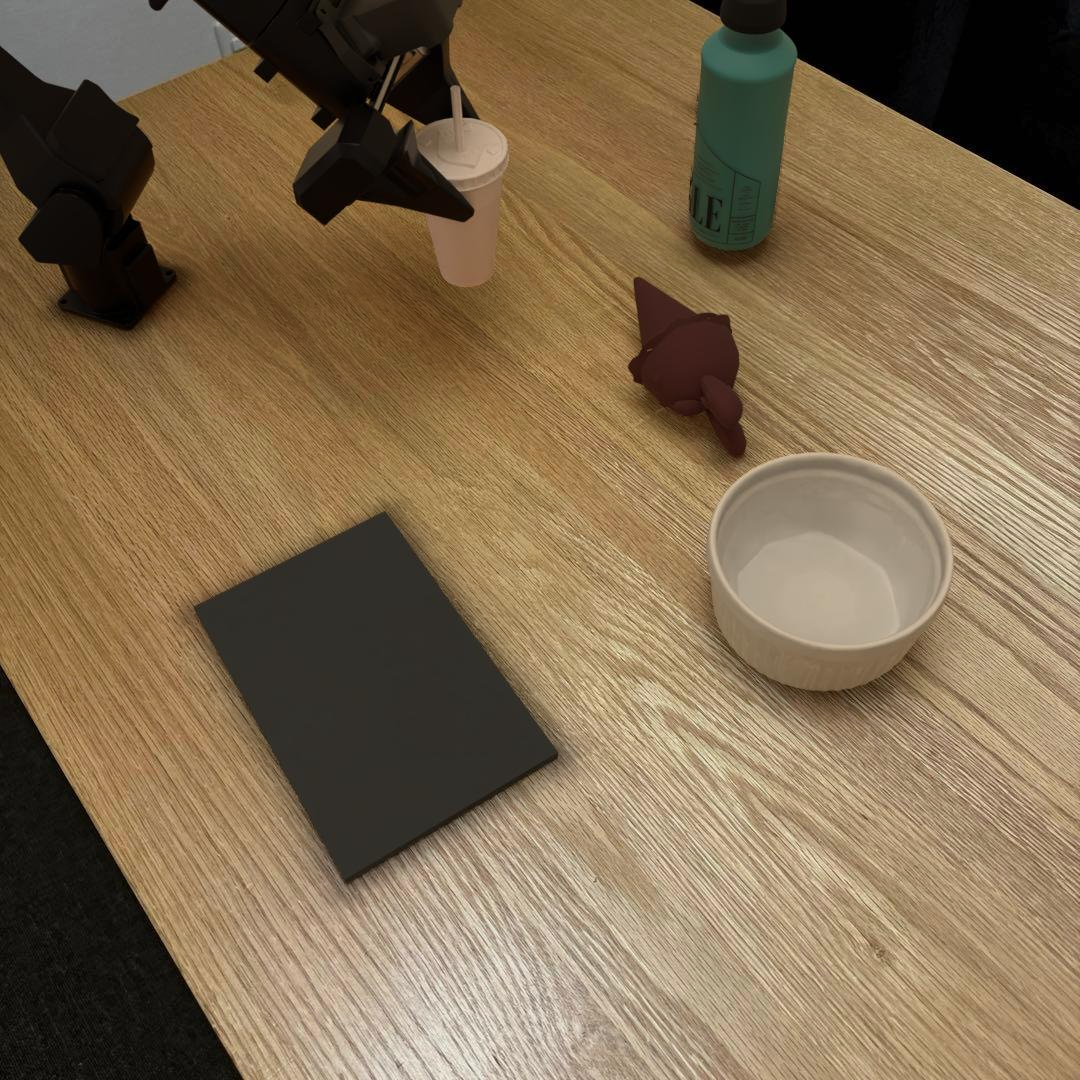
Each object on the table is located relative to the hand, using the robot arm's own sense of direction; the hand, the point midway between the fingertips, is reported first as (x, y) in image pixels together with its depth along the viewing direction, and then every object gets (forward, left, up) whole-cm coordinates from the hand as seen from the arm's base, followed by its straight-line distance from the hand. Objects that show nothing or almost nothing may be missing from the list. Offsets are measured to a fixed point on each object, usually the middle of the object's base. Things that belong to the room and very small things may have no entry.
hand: (480, 183), depth 75 cm
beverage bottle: (+13, +15, -12) cm, 23 cm away
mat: (+6, -29, -12) cm, 32 cm away
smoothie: (-1, 0, -7) cm, 7 cm away
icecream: (+15, -1, -12) cm, 19 cm away
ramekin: (+28, -15, -12) cm, 34 cm away
